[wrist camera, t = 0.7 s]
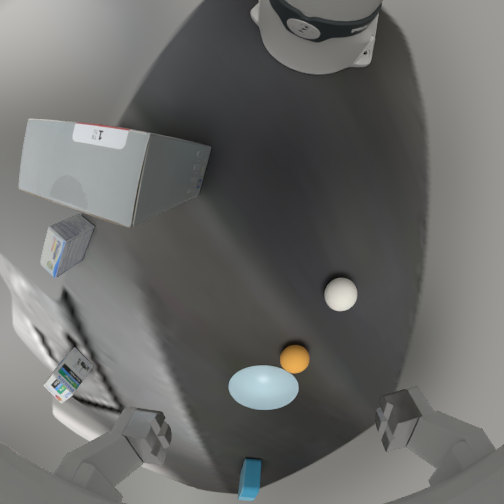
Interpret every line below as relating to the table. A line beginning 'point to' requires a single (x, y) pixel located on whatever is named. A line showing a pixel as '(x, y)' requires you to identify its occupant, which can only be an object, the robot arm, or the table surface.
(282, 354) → the orange ball
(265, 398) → the blue mark
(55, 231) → the medicine box
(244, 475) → the data package
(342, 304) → the white ball
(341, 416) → the table surface
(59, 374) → the light bulb box
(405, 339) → the table surface
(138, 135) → the hard drive box
